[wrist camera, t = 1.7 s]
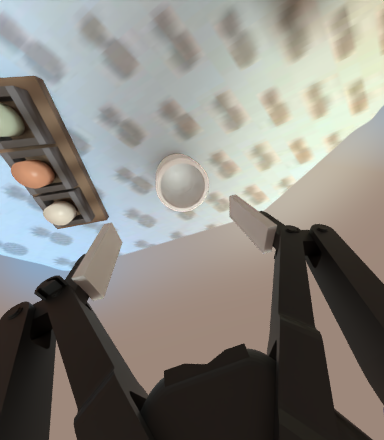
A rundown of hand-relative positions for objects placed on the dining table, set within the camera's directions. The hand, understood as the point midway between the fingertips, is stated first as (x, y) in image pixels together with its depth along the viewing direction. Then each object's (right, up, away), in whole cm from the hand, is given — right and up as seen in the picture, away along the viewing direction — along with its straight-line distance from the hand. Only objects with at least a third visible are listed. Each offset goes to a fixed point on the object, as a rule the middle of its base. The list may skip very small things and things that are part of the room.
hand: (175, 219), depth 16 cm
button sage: (-31, +17, +9) cm, 37 cm away
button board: (-31, +12, +18) cm, 38 cm away
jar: (-3, +14, +24) cm, 28 cm away
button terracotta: (-30, +10, +14) cm, 34 cm away
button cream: (-29, +2, +18) cm, 35 cm away
